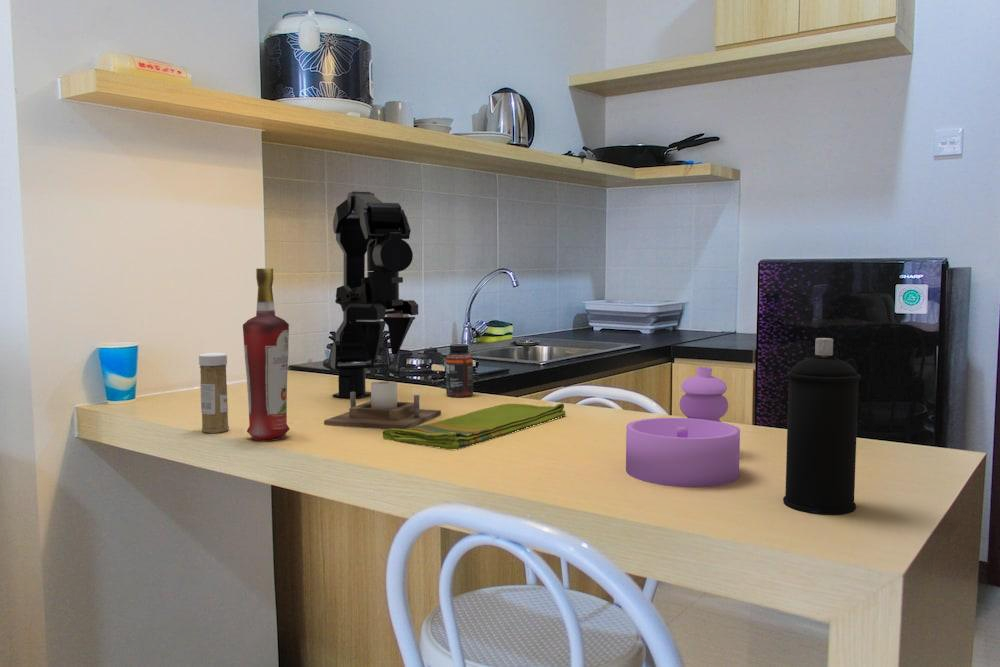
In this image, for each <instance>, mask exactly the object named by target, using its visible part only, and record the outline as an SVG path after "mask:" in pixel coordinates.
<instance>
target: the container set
mask: <svg viewBox="0 0 1000 667" xmlns="http://www.w3.org/2000/svg"><path fill="white" fill-rule="evenodd" d="M712 370H713V368H712V367H708V366H698V367H696V375H693V376H691V377H688V378H686V379H685V380H683V382H682V384H681V386H680V387H681V389H682V391H683V393H685V394H683V395H681V397H680V399H679V404H678V406H679V410H680V412H682V414H683V415H684V416H685V417H655V418H653V417H652V418H646V419H645V418H644V419H643V418H642V419H637V420H634V421H631V422H630V423H627V424H626V434H625V435H626V436H625V437H626V439H625V440H626V441H625V447H626V448H625V472H626V474H627V475H628V476H629V477H632V478H634V479H636V480H638V481H639V480H640V481H642V482H647V483H650V484H655V485H663V486H668V487H679V488H681V487H683V488H706V487H717V486H718V487H719V486H724V485H728V484H732V483H734V482H736V481H738V479H739V478H740V452H741V450H740V447H741V445H740V444H741V442H740V441H741V429H740V428H739V427H737V426H735V425H733V424H729V423H727V422H726V423H725V422H722V421H721V420H720V419H721V418H722V417H724V416H725V415H726V414H727V413H728V409H729V401H728V399H727V397H726V396H724V394H725V393H726V392H727V390H728V387H727V383H726V382H725V381H723V380H722V379H721V378H719V377H716V376H713V375H712Z"/></svg>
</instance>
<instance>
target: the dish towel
mask: <svg viewBox="0 0 1000 667" xmlns="http://www.w3.org/2000/svg"><path fill="white" fill-rule="evenodd" d="M564 404H565V403H558V404H556V405H555V406H552V405H551V406H544V405H541V406H539V405H534V404H533V405H532V404H524V403H523V404H522V403H505V404H504V403H502V404H499V405H495V406H490V407H485V408H482V409H478V410H475V411H470V412H468V413H464V414H461V415H457V416H453V417H450V418H447V419H443V420H439V421H434V422H431V423H426V424H420V425H417V426H414V427H411V428H406V429H383V431H382V438H383V440H386V441H392V440H393V441H392V442H398V441H399V443H404V442H406V443H405V444H410V443H412V444H411V445H416V444H418V445H417V446H422V445H425V446H424V447H428V446H433V447H432V448H435V447H440V448H439V449H441V448H445V449H444V450H448V449H457V450H459V448H460V449H463V447H464V448H467V447H466V446H468V447H470V445H471V446H473V445H472V444H475V445H477V444H476V443H478V444H480V443H479V442H481V443H484V442H486V441H485V440H488V441H490V440H489V439H491V440H493V439H492V438H494V439H496V438H495V437H497V438H500V437H499V436H501V437H504V436H507V435H506V434H508V435H510V434H509V433H511V434H513V433H512V432H514V433H516V432H515V431H517V430H521V429H524V428H526V427H530V426H533V425H537V424H540V423H544V422H547V421H549V420H552V419H555V418H558V417H561V416H564V415H565V416H566V410H564V409H565V405H564ZM565 416H564V417H565ZM547 423H548V422H547ZM544 424H545V423H544ZM540 425H541V424H540ZM537 426H538V425H537ZM530 428H531V427H530ZM524 430H525V429H524ZM521 431H522V430H521ZM517 432H518V431H517ZM503 435H504V436H503ZM483 441H484V442H483Z"/></svg>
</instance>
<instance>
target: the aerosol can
mask: <svg viewBox="0 0 1000 667" xmlns="http://www.w3.org/2000/svg"><path fill="white" fill-rule="evenodd" d="M814 342H815V344H814V345H815V347H814V355H812V356H811V357H808V358H804V359H803V360H800V361H798V362H797V363H796V364H794V365H793V366H792V367H791V370H788V371H787V372H786V376H787V377H788V390H787V391H788V392H787V393H788V394H787V422H786V423H787V427H786V430H787V433H786V459H785V461H786V463H785V494H784V496H783V498H782V501H783V503H784V505H786V506H787V507H789V508H791V509H794V510H795V511H796V510H797V511H799V512H804V513H810V514H819V515H844V514H849V513H852V512H854V511H855V510H856V509H857V505H856V503H855V490H856V489H855V487H856V485H855V484H856V483H855V482H856V463H857V462H856V458H857V454H856V453H857V432H858V430H857V428H858V402H859V381H860V380H861V379H862V375H861V374H859V373H857V371H856V369H855V368H854V367H853V366H852V365H851V364H850V363H849V362H846V361H845V360H842V359H839V358H837V357H836V356H835V355H834V338H831V337H816V338H815V340H814ZM833 355H834V356H833Z"/></svg>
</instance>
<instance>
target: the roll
mask: <svg viewBox="0 0 1000 667" xmlns="http://www.w3.org/2000/svg"><path fill="white" fill-rule="evenodd" d="M370 392H371V394H370V401H371V408H378V409H395V408H397V402H398V382H396V381H391V380H389V381H388V380H387V381H385V380H384V381H383V380H382V381H373V382H371V383H370Z"/></svg>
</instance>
